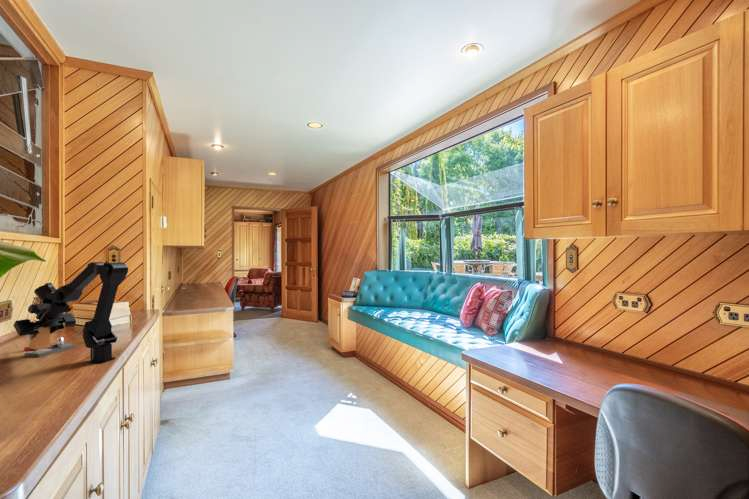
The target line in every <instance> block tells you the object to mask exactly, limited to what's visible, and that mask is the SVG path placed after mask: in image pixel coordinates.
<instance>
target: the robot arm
mask: <svg viewBox="0 0 749 499" xmlns="http://www.w3.org/2000/svg"><path fill="white" fill-rule="evenodd" d="M128 272H129V267H128V266H127V264H126V263H125V262H119V261H118V262H104V261H103V262H102V261H92V262H91V261H90V262H88V264H87V265H86V267H85V268H84V269H83V270H82V271H81V272H79V273H78V274H77V276H76V277H74V278H73V280H71V281H70V282H69V283H67V284H64V285H62V286H60V287H58V288H57V289H56V287H55V286H54V284H53V282H45V283H44V284H42V285H40V286H39V287H37V288H35V289H34V292H33V293H34V294H35V295H36V297H37V298H38V299H39V301H40V302H41V303H35V304H30V305H29V306H28V307H27V312H28V313H29V314H35V315H36V316H35V318H36V321H35V322H36V323H33V322H34V321H31V320H30V319H29V318H24V319H19V320H18V319H17V320H15V321H14V323H13V327H14V329H15V331H16V333H17V335H18V336H27V335H29V336H28V337H29V340H30V339H32V338H34V337H35V336H36V335H37V334H39V332H38V329H39V328H47V327H50V335H51V334H53V333H56V332H58V331H61V330H64V329H65V328H73V327H74V326H75V325H76V324H77V320H76V318H75V317H74V315H73V313H72V312H71V311H72V308H71V306H70V305H69V303H71V302H73V303H74V302H77V301H78V300H79V299H80V298H81V297H82V295H83V294H84V293H83V292H84V289H85V288H86V287H88V285H89V284H90V283H91V282H92V281H94V280H95V279H96V278H97V277H98V276H99V279H100V281H101V283H102V286H101V289H100V292H99V295H98V296H99V297H98V300H97V303H96V308H95V311H94V315H93V317H92V319H91V320H87V321H85V323H84V325H83V326H84V327H83V329H82V331H81V332H82V337H83V341H84V345H85V347H86V348H88V349H90V351H89V352H90V354H89V355H90V357H89V358H90V359H89V360H87V361H86V363H92V364H102V363H103V364H104V363H106V362H109V361H112V360H114V359H116V356H113V346H112V345H113V344H114V343H116V342H117V341H118V336H117V335H116V334H115V333H114V331H113V330H112V328H113V327H112V326H113V325H112V323H111V321H110V316H111V313H112V310H113V307H114V302H115V299H116V295H117V291H118V288H119V286H120V285H121V284H122V282H123V281H124V280H125V279H126V277H127V275H128Z"/></svg>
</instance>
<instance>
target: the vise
mask: <svg viewBox="0 0 749 499" xmlns="http://www.w3.org/2000/svg"><path fill="white" fill-rule="evenodd" d="M73 348H75V344H73V343H72V342H66V343H65V338H64V336H60V337H57V338H56V343H53V344H51V345H50V347H48V348H44V349H39V350H30V351H27V352H24V357H31V358H42V357H45V356H49V355H52V354H55V353H56V354H57V353H59V352H62V351H66V350H70V349H73Z"/></svg>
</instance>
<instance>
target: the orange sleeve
mask: <svg viewBox="0 0 749 499" xmlns="http://www.w3.org/2000/svg"><path fill="white" fill-rule="evenodd" d="M38 332H39V334H37V335H36V336H35V337H34V338H32V339H30V338H29V345H30V349H41V348H46V347H50V343H51V334H50V327H47V328H39V329H38Z"/></svg>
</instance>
